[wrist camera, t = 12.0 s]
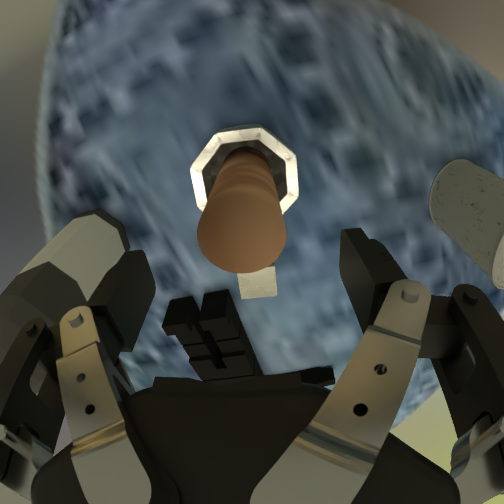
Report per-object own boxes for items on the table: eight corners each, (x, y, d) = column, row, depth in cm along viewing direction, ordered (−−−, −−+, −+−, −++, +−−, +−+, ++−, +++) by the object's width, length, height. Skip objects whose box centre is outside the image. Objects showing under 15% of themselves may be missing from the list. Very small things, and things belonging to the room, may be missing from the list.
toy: (331, 295, 28) (337, 414, 43) (320, 266, 32) (333, 391, 47) (89, 334, 31) (181, 431, 46) (103, 308, 36) (185, 409, 51)
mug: (283, 118, 23) (296, 127, 16) (292, 245, 30) (304, 292, 23) (200, 128, 24) (179, 142, 17) (222, 252, 31) (214, 301, 24)
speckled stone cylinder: (490, 191, 26) (552, 236, 15) (451, 243, 30) (504, 302, 20) (459, 142, 23) (536, 179, 13) (415, 203, 27) (480, 262, 17)
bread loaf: (267, 143, 22) (283, 189, 11) (272, 189, 24) (288, 269, 14) (218, 149, 22) (188, 200, 12) (225, 194, 24) (206, 276, 14)
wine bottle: (102, 277, 32) (2, 496, 7) (63, 229, 29) (-79, 434, 3) (144, 250, 30) (34, 528, 5) (101, 194, 27) (-86, 448, 1)
